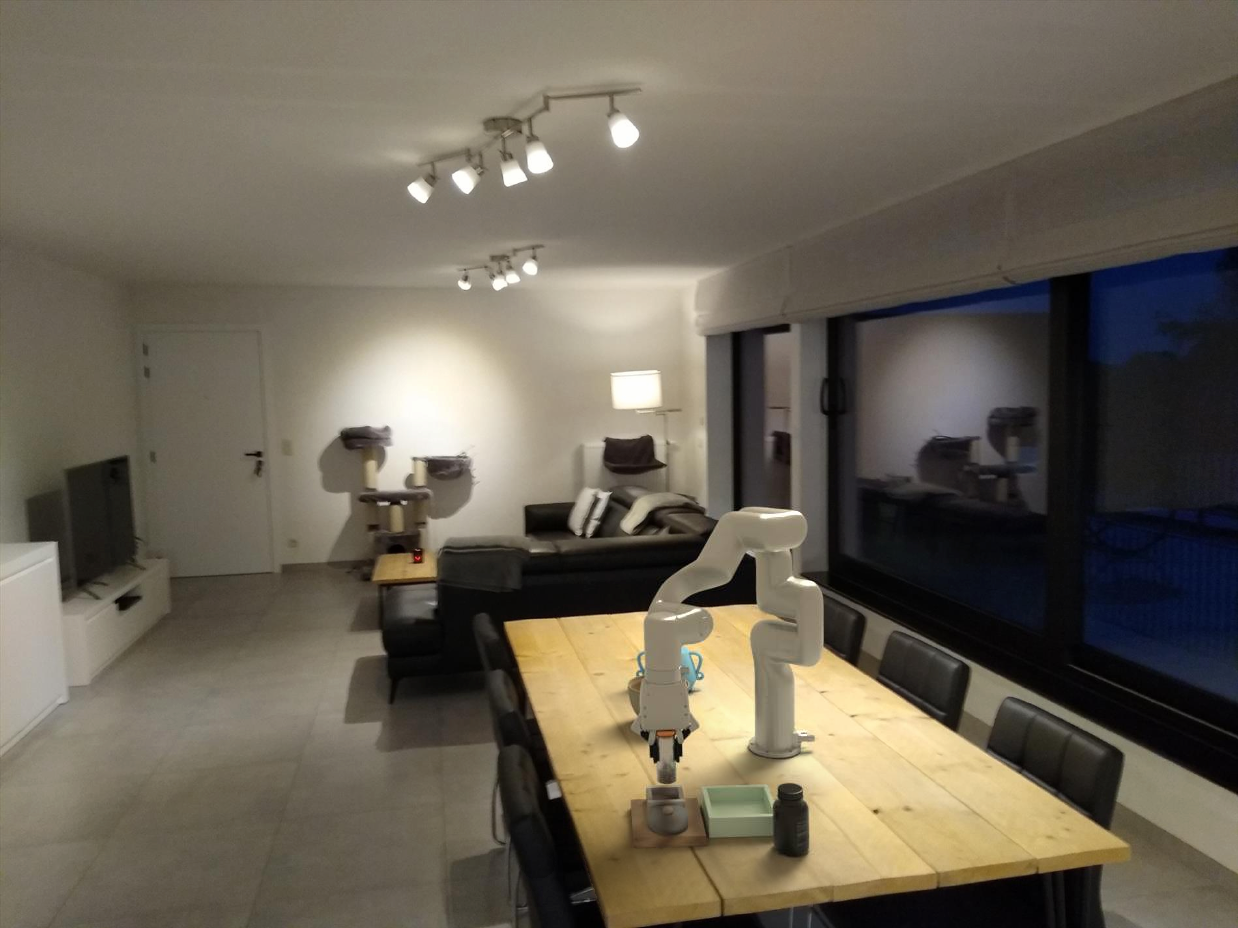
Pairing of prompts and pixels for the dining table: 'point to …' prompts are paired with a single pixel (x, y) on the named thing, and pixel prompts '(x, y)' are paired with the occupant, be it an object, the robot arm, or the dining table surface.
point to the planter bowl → (638, 692)
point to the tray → (738, 810)
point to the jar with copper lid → (666, 756)
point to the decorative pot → (686, 662)
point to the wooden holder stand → (666, 819)
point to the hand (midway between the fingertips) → (666, 759)
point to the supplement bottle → (790, 821)
